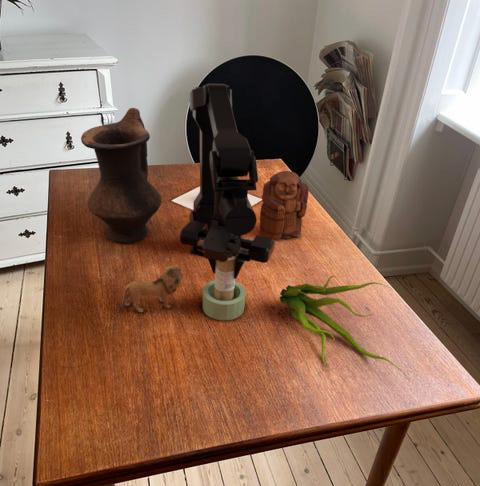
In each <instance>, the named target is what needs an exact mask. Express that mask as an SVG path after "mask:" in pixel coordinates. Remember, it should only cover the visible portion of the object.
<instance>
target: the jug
mask: <svg viewBox="0 0 480 486" xmlns="http://www.w3.org/2000/svg"><path fill="white" fill-rule="evenodd" d="M150 138H151V135H150V133H149V131H148V130H147V129H146V127H145V125H144V122H143V119H142V117H141V112H140V110H139V108H136V107H129V108H128V110H127V111H126V113H125V115H124V116H123V117H122V118H121V119H120V120H119V121H117V122H112V123H107V124H103V125H97V126H93V127H91V128H89V129H87V130H85V131H84V132H83V133H82V135H81V137H80V141H81V144H83V146H84V147H85V148H88V149H93V150H94V154H95V157H96V160H97V164H98V170H99V173H100V177H99V181H98V182H97V184H96V185H95V187H94V188H93V190H92V191H91V193H90V195H89V197H88V199H87V207H88V209H89V212H90V213H91V214H93V215H94V216H95V217H97V218H99V219H100V220H101V221H102V222H104V224H105V225H106V226H107V227H106V230H105V235H106V237H107V239H109V240H110V241H113V242H115V243H121V244H132V243H135V242H138V241H142V240H144V239H145V238H146V237H148V234H149V229H148V226H147V223H148V222H149V221H150V220H151V219H152V217H153V216H154V215H155V214H156V213H157V212H158V210H159V209H160V208H161V205H162V200H163V199H162V195H161V193H159V191H158V189H156V188H155V186H153V185H152V184H151V183H150V182H149V180H148V177H149V164H148V141H149V140H150Z"/></svg>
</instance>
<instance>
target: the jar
mask: <svg viewBox="0 0 480 486" xmlns="http://www.w3.org/2000/svg"><path fill="white" fill-rule="evenodd" d="M214 291H215V279H212V280H209V281H208V282H207V283H205V284H204V286H203V288H202V301H201V302H202V303H201V305H202V306H201V308H202V311H203V313H204V314H205V315H206V316H208V317H209V318H211V319H214V320H217V321H232V320H236V319H238V318H239V317H241V315H242V314H243V313H244V311H245V305H246V294H247V293H246V289H245V287H244V285H242V284H241V282H238V281H236V280H235V286H234V293H233V295H234V298H233V300H231V301H220V300H216V299H214Z"/></svg>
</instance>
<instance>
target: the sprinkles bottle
mask: <svg viewBox="0 0 480 486" xmlns="http://www.w3.org/2000/svg"><path fill="white" fill-rule="evenodd" d="M236 261H237V260H236V257H234V256H232V257H231V258H228V260H227V261H225V262H220V261H218V260H216V271H215V274H214V280H215V291H214V299H216V300H220V301H231V300H233V298H234V295H233V293H234V286H235V281H236V279H234V272H235V266H236Z"/></svg>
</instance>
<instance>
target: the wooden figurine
mask: <svg viewBox="0 0 480 486" xmlns="http://www.w3.org/2000/svg"><path fill="white" fill-rule="evenodd" d="M309 191H310V190H309V186H308V185H307V183H306V182H304V181H303V180H302V179H301V177H300V176H299V175H298V174H297V173H296V172H295V171H290V170H282V171H279V172H276V173H274V174H273V175H272V176H270V178H269V180H268V181H266V182H265V183H264V184H263V188H262V195H261V199H262V200H261V201H262V204H261V208H260V211H259V231H260V234H262V236H265V237H269V238H273V240H274V241H279V240H290V239H291V240H292V238H300V236H301V231H302V224H303V218H304V217H305V215H306V213H307V209H308V202H309V201H308V199H309Z"/></svg>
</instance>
